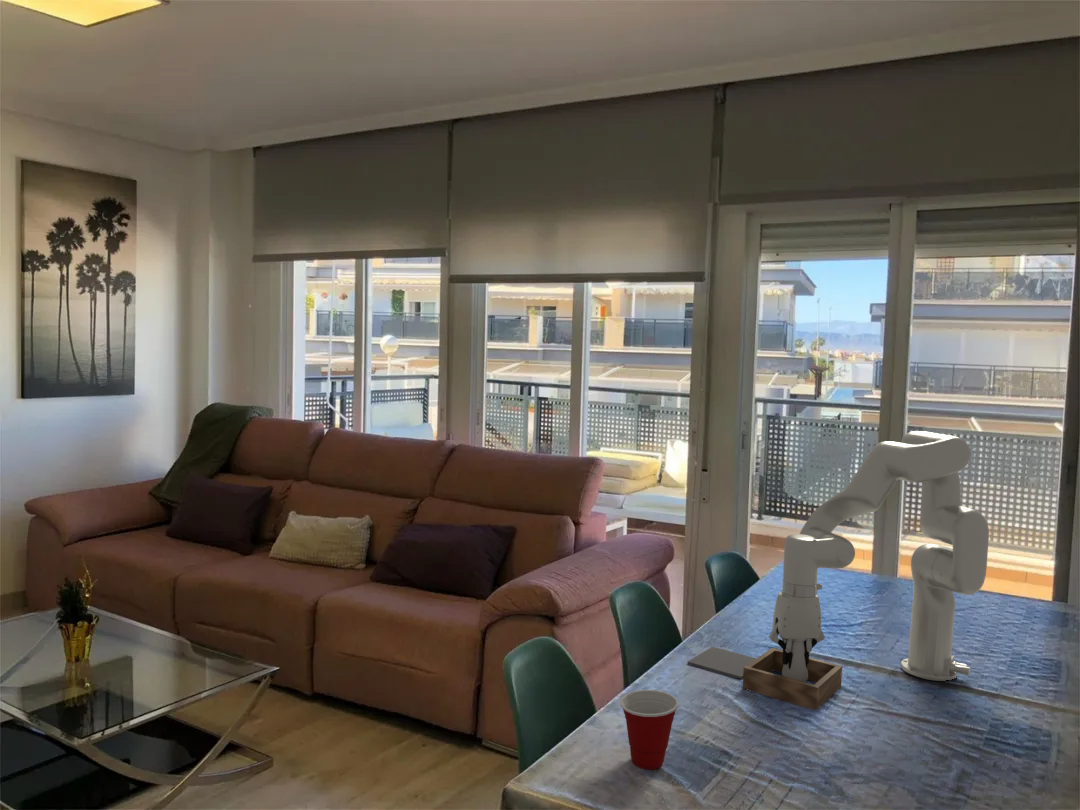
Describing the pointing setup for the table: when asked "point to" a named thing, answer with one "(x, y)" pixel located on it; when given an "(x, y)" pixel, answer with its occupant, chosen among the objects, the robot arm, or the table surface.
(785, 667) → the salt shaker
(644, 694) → the plastic cup
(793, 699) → the frame
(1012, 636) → the table surface
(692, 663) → the coaster
